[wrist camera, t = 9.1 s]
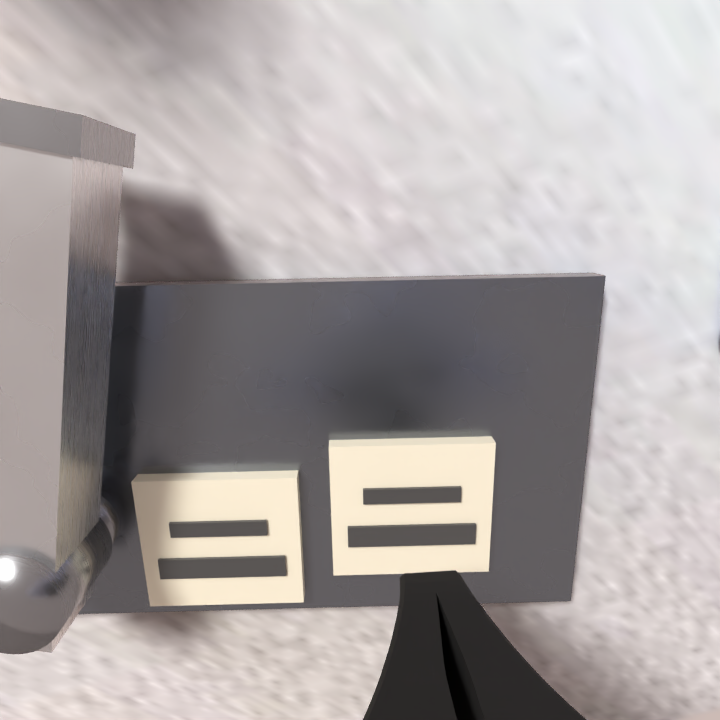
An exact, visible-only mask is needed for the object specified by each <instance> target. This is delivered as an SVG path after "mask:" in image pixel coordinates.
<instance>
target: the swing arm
mask: <svg viewBox="0 0 720 720" xmlns="http://www.w3.org/2000/svg"><path fill="white" fill-rule="evenodd" d="M134 148H135V134H133V133H130V132H127V131H125V130H122V129H119V128H116V127H114V126H111V125H108V124H105V123H103V122H100V121H97V120H94V119H92V118H89V117H86V116H83V115H79V114H74V113H69V112H65V111H60V110H55V109H50V108H45V107H40V106H35V105H30V104H26V103H21V102H16V101H11V100H6V99H1V98H0V653H6V654H24V653H30V652H34V651H43V652H50V653H52V651H53V650H54V648H55V647H56V646H57V644H58V643H59V641H60V640H61V638H62V637H63V635H64V634H65V632H66V631H67V629H68V628H69V627H70V625H71V624H72V622H73V621H74V619H75V618H76V616H77V615H78V613H79V612H80V610H81V609H82V608H83V606H84V605H85V603H86V602H87V600H88V599H89V597H90V596H91V594H92V593H93V591H94V590H95V580H96V579H97V577H98V576H99V574H100V573H101V572H102V570H103V569H104V567H105V566H106V564H107V563H108V561H109V559H110V557H111V554H112V538H111V534H110V532H109V529H108V527H107V526H106V524H105V523H104V521H103V520H102V519H101V518H100V503H101V488H102V473H103V458H104V444H105V429H106V414H107V399H108V384H109V369H110V354H111V339H112V325H113V310H114V295H115V280H116V265H117V250H118V235H119V220H120V206H121V191H122V176H123V167H127V168H132V169H133V161H134Z"/></svg>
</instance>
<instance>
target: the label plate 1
mask: <svg viewBox="0 0 720 720" xmlns="http://www.w3.org/2000/svg"><path fill="white" fill-rule="evenodd" d="M131 484H132V491H133V497H134V504H135V510H136V517H137V523H138V530H139V536H140V543H141V550H142V556H143V563H144V569H145V576H146V582H147V589H148V596H149V602H150V606H184V605H223V604H261V603H300V602H304V597H305V580H304V562H303V544H302V526H301V508H300V491H299V473H298V470H289V471H247V472H205V473H163V474H137V476H136V477H135V478H134V479H133V480H132V482H131Z"/></svg>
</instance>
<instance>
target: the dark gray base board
mask: <svg viewBox="0 0 720 720" xmlns="http://www.w3.org/2000/svg"><path fill="white" fill-rule="evenodd" d="M604 285H605V276H604V275H600V274H596V273H560V274H512V275H463V276H415V277H366V278H318V279H269V280H221V281H172V282H124V283H115V295H114V310H113V325H112V339H111V354H110V369H109V384H108V399H107V414H106V429H105V444H104V458H103V473H102V488H101V503H100V518H101V519H102V520H103V521H104V523H105V524H106V526H107V527H108V529H109V532H110V534H111V538H112V554H111V557H110V559H109V561H108V563H107V564H106V566H105V567H104V569H103V570H102V572H101V573H100V574H99V576H98V577H97V579H96V580H95V590H94V591H93V593H92V594H91V596H90V597H89V599H88V600H87V602H86V603H85V605H84V606H83V608H82V609H81V610H80V612H79V613H78V614H91V613H130V612H168V611H206V610H244V609H283V608H321V607H359V606H398V605H399V599H400V579H399V578H400V577H401V576H402V575H403V574H374V575H334V576H333V550H332V524H331V497H330V471H329V440H352V439H395V438H438V437H481V436H492V438H493V439H494V441H495V443H496V449H495V467H494V485H493V503H492V521H491V539H490V557H489V572H458V573H459V574H460V575H461V576H462V578H463V580H464V581H465V583H466V584H467V586H468V588H469V589H470V591H471V592H472V594H473V595H474V596H475V598H476V599H477V601H478V602H479V603H513V602H551V601H571V593H572V583H573V574H574V565H575V555H576V546H577V537H578V527H579V518H580V509H581V499H582V490H583V481H584V471H585V462H586V453H587V443H588V434H589V425H590V415H591V406H592V397H593V388H594V378H595V369H596V360H597V350H598V341H599V332H600V322H601V313H602V304H603V294H604ZM289 470H298V473H299V491H300V508H301V526H302V544H303V562H304V580H305V597H304V602H300V603H261V604H223V605H184V606H150V602H149V596H148V589H147V582H146V576H145V569H144V563H143V556H142V550H141V543H140V536H139V530H138V523H137V517H136V510H135V504H134V497H133V491H132V484H131V482H132V480H133V479H134V478H135V477H136V476H137V474H163V473H205V472H247V471H289Z"/></svg>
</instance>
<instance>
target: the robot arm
mask: <svg viewBox="0 0 720 720" xmlns="http://www.w3.org/2000/svg"><path fill="white" fill-rule="evenodd" d="M399 579H400V599H399V607H398V613H397V618H396V623H395V627H394V631H393V636H392V640H391V644H390V647H389V651H388V654H387V657H386V660H385V663H384V667H383V670H382V673H381V676H380V679H379V682H378V684H377V687H376V690H375V692H374V695H373V697H372V700H371V702H370V705H369V707H368V710H367V712H366V714H365V716H364V718H363V720H586V719H585V718H584V717H583V716H582V715H580V714H579V713H578V712H577V711H576V710H575V709H574V708H573V707H572V706H570V705H569V704H568V703H567V702H566V701H565V700H564V699H563V698H562V697H561V696H560V695H559V694H558V693H557V692H556V691H555V690H554V689H553V688H551V687H550V686H549V685H548V684H547V683H546V682H545V680H544V679H543V678H542V677H541V676H540V675H539V674H538V673H537V672H536V671H535V670H534V669H533V668H532V667H531V666H530V665H529V664H528V662H527V661H526V660H525V659H524V658H523V657H522V656H521V655H520V654H519V652H518V651H517V650H516V649H515V648H514V647H513V646H512V644H511V643H510V642H509V641H508V640H507V638H506V637H505V636H504V635H503V633H502V632H501V631H500V630H499V628H498V627H497V626H496V625H495V623H494V622H493V621H492V620H491V618H490V617H489V616H488V614H487V613H486V612H485V610H484V609H483V608H482V606H481V605H480V604H479V602H478V601H477V599H476V598H475V596H474V595H473V594H472V592H471V591H470V589H469V588H468V586H467V584H466V583H465V581H464V580H463V578H462V576H461V575H460V574H459V573H458V572H457V571H456V570H451V571H435V572H419V573H404V574H403V575H402V576H401V577H400V578H399Z"/></svg>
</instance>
